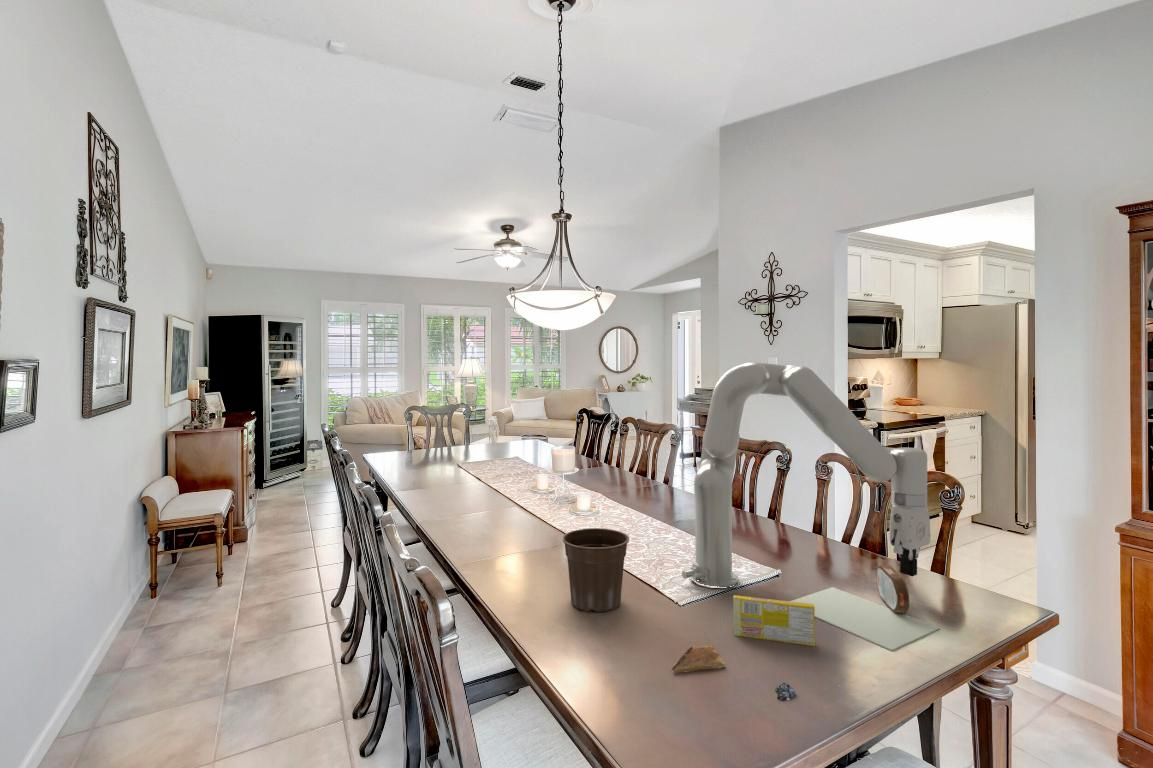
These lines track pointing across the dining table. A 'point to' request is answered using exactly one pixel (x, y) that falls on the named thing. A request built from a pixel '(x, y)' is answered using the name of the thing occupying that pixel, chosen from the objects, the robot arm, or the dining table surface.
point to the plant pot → (595, 567)
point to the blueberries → (785, 692)
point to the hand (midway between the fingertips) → (908, 573)
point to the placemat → (867, 618)
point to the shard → (699, 659)
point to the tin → (892, 589)
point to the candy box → (774, 620)
